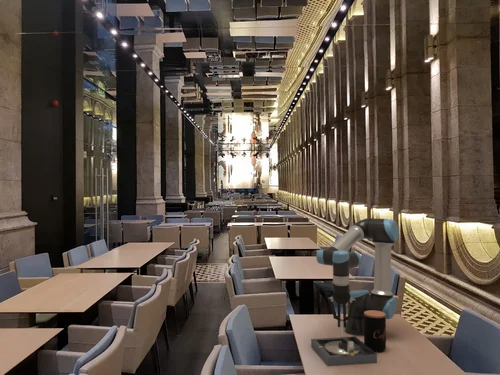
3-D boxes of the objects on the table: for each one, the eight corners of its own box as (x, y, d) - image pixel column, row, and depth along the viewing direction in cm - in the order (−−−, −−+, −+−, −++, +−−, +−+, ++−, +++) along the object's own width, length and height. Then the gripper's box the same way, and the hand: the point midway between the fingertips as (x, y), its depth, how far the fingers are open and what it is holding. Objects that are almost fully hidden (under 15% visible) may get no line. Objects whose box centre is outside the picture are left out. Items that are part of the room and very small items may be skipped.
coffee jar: (374, 354, 200) (374, 317, 200) (359, 347, 209) (359, 311, 209) (390, 350, 205) (390, 314, 205) (375, 343, 214) (374, 309, 214)
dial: (318, 345, 205) (318, 332, 205) (348, 341, 210) (348, 329, 210) (335, 358, 189) (335, 344, 189) (367, 354, 194) (367, 340, 194)
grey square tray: (355, 343, 214) (355, 335, 214) (377, 362, 190) (376, 352, 190) (311, 346, 210) (311, 337, 210) (327, 366, 186) (327, 356, 186)
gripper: (326, 285, 191) (327, 335, 191) (355, 286, 187) (356, 338, 187) (328, 281, 198) (328, 330, 198) (355, 282, 194) (356, 332, 194)
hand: (342, 333), depth 193 cm, fingers closed
